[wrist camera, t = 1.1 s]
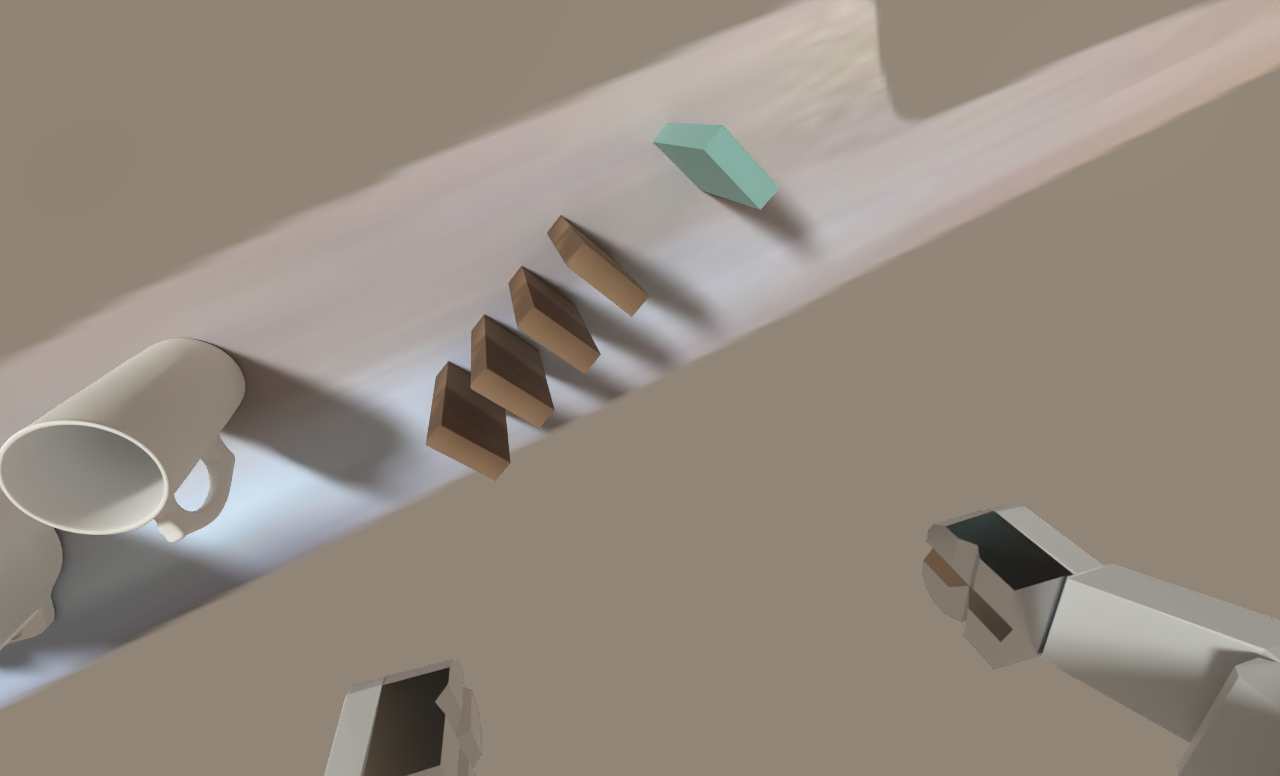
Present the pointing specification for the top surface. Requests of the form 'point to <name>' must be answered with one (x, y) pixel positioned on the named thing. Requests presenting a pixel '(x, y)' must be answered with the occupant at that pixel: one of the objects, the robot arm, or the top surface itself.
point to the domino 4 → (551, 320)
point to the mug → (130, 445)
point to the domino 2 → (509, 372)
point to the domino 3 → (596, 266)
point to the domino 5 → (716, 162)
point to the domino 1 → (467, 424)
